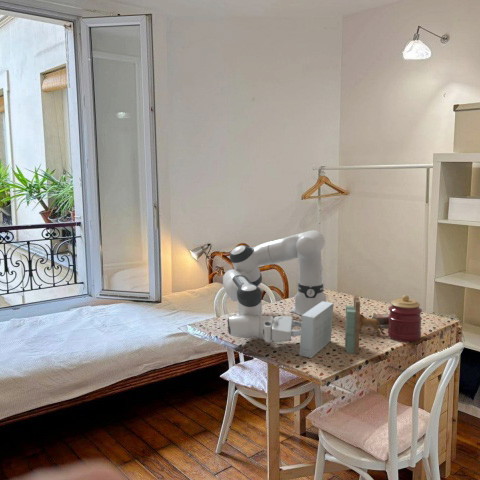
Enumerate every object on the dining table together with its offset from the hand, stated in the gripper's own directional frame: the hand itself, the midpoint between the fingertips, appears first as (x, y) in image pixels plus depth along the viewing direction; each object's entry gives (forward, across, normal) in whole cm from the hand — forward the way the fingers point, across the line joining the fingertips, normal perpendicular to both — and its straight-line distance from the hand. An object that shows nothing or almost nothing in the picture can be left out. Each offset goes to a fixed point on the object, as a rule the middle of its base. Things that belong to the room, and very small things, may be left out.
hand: (303, 328), depth 195 cm
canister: (+40, -17, -8) cm, 45 cm away
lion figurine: (+25, -20, -8) cm, 33 cm away
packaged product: (+39, -33, -8) cm, 52 cm away
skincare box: (+4, 0, -8) cm, 9 cm away
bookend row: (+18, -1, -8) cm, 20 cm away
